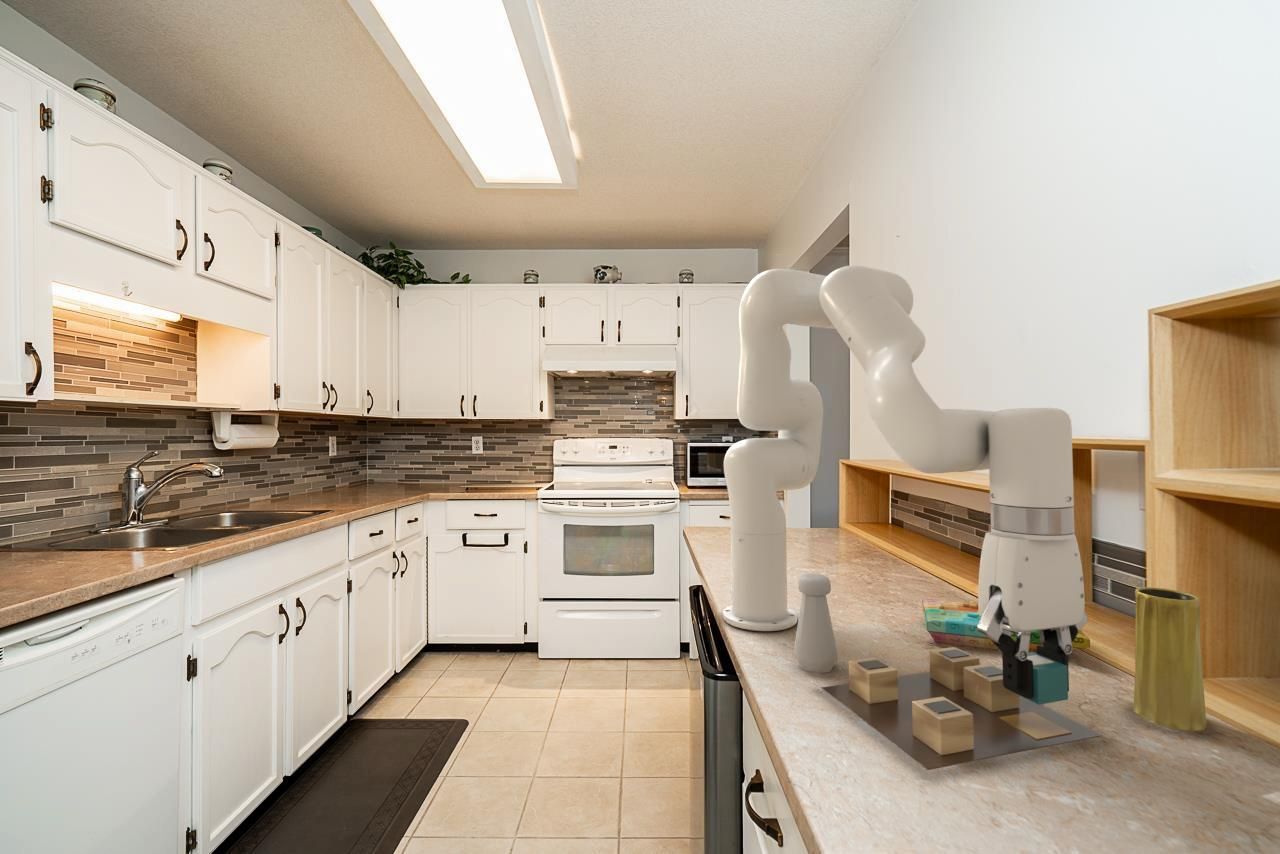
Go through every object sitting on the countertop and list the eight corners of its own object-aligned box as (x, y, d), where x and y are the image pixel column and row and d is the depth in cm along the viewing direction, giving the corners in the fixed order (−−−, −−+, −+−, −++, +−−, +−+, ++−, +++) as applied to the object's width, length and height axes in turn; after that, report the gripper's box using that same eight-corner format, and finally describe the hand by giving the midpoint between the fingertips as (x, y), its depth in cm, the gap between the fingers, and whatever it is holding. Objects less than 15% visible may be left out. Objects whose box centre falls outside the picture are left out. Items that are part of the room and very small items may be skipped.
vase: (1215, 742, 59) (1212, 604, 59) (1138, 726, 62) (1135, 596, 62) (1197, 716, 64) (1195, 590, 64) (1127, 703, 67) (1125, 583, 67)
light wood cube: (849, 689, 71) (848, 659, 71) (876, 685, 72) (876, 656, 72) (869, 704, 67) (869, 672, 67) (898, 699, 68) (898, 668, 68)
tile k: (912, 735, 60) (911, 700, 60) (943, 729, 61) (943, 695, 61) (941, 755, 56) (940, 718, 56) (974, 749, 57) (973, 712, 57)
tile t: (963, 696, 68) (963, 666, 68) (990, 692, 69) (989, 662, 69) (991, 712, 64) (991, 680, 64) (1019, 707, 65) (1019, 675, 65)
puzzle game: (921, 594, 96) (1064, 607, 88) (922, 622, 96) (1065, 638, 88) (926, 615, 85) (1089, 632, 78) (927, 646, 85) (1090, 667, 78)
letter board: (821, 692, 71) (820, 686, 71) (964, 671, 77) (964, 666, 77) (927, 775, 54) (927, 768, 54) (1102, 741, 59) (1102, 734, 59)
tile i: (929, 677, 74) (929, 649, 74) (954, 674, 75) (954, 645, 75) (953, 691, 70) (953, 661, 70) (980, 687, 71) (979, 657, 71)
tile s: (1005, 688, 63) (1004, 655, 63) (1033, 683, 64) (1032, 650, 64) (1038, 705, 59) (1037, 669, 59) (1068, 699, 60) (1067, 664, 60)
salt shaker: (840, 665, 79) (839, 572, 79) (835, 682, 74) (834, 582, 74) (797, 658, 82) (796, 568, 82) (790, 674, 76) (789, 578, 77)
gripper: (1057, 512, 67) (1061, 667, 67) (940, 520, 63) (944, 685, 63) (1125, 521, 60) (1130, 695, 60) (998, 531, 56) (1003, 717, 56)
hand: (1035, 688), depth 61 cm, fingers closed on tile s, 4 cm apart
